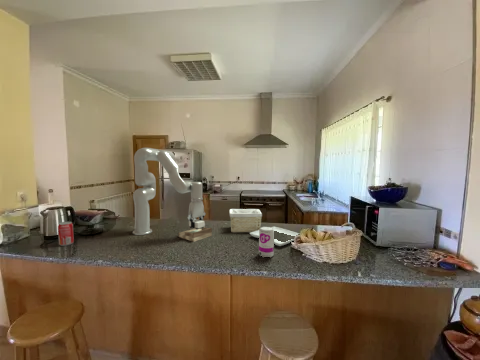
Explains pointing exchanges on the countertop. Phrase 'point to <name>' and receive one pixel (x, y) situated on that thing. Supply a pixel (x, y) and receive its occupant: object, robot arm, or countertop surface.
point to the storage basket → (245, 220)
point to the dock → (196, 234)
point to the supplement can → (266, 242)
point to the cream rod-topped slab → (197, 224)
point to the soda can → (65, 233)
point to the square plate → (280, 230)
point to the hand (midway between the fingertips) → (196, 226)
